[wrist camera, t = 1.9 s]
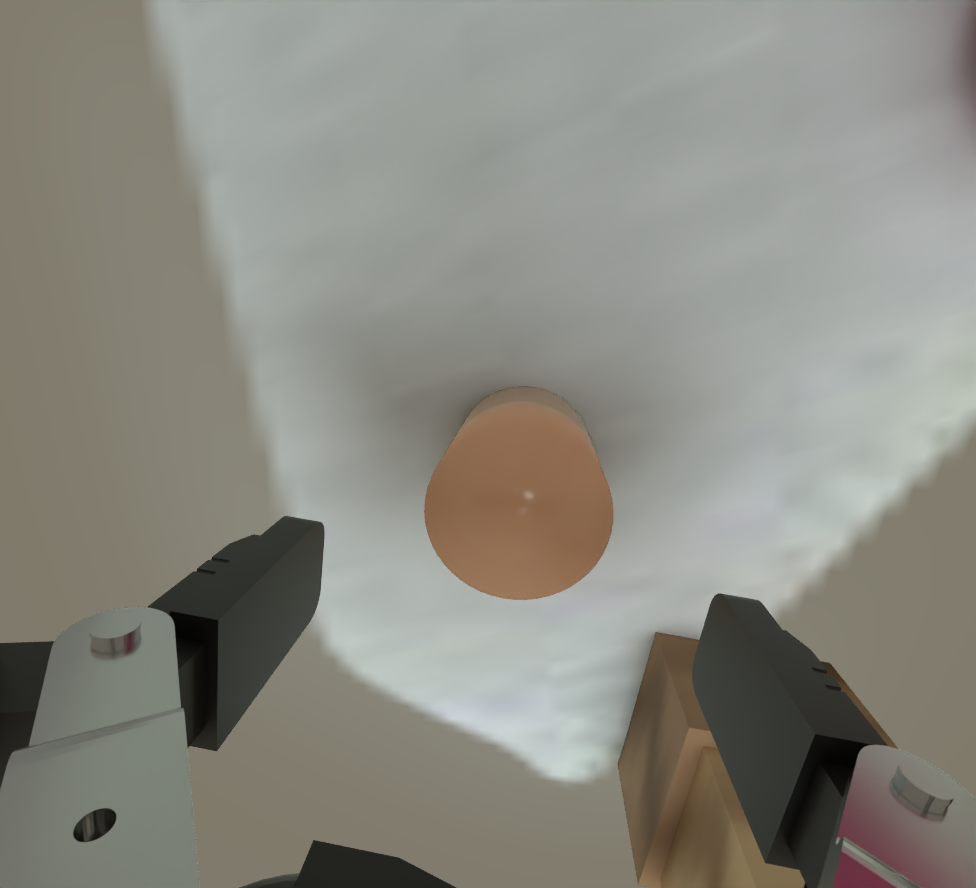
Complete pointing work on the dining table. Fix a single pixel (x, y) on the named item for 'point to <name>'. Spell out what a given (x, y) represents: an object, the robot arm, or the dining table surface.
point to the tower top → (719, 838)
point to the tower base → (671, 751)
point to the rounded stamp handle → (520, 497)
